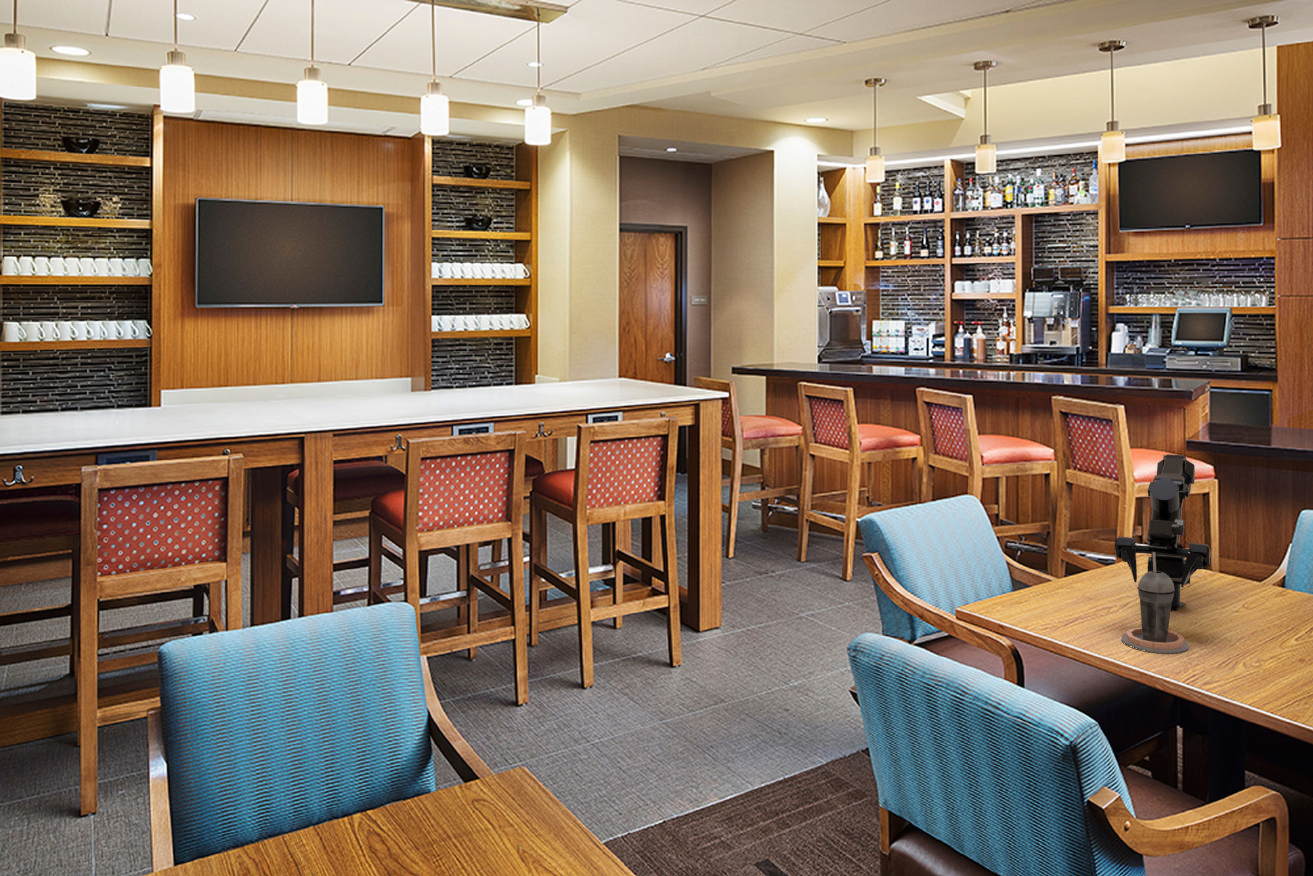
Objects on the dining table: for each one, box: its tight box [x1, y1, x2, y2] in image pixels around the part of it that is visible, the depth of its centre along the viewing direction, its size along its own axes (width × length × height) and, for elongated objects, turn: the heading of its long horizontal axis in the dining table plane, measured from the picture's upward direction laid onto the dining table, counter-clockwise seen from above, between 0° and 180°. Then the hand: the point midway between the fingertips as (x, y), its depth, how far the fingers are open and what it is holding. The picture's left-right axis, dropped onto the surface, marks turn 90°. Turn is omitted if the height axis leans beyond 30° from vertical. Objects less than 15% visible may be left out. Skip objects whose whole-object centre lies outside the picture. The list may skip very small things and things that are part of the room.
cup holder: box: [1120, 626, 1189, 655], centre depth 207 cm, size 13×13×2 cm
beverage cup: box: [1136, 552, 1175, 643], centre depth 206 cm, size 7×7×20 cm
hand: (1158, 584), depth 209 cm, fingers open, 9 cm apart
